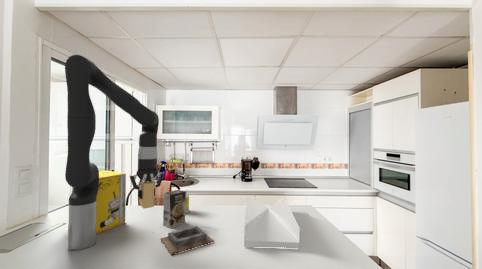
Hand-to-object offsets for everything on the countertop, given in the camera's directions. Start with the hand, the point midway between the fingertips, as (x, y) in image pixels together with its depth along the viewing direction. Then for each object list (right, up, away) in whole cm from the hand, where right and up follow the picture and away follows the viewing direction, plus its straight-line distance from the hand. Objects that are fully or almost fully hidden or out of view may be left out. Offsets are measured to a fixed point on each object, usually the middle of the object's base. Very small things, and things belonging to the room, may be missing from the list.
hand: (146, 197), depth 96 cm
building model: (+53, -20, +18) cm, 60 cm away
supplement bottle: (+6, -18, +36) cm, 41 cm away
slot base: (+17, -19, 0) cm, 25 cm away
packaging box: (-29, -18, +15) cm, 38 cm away
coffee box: (+6, -19, +18) cm, 27 cm away
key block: (0, -3, 0) cm, 3 cm away
